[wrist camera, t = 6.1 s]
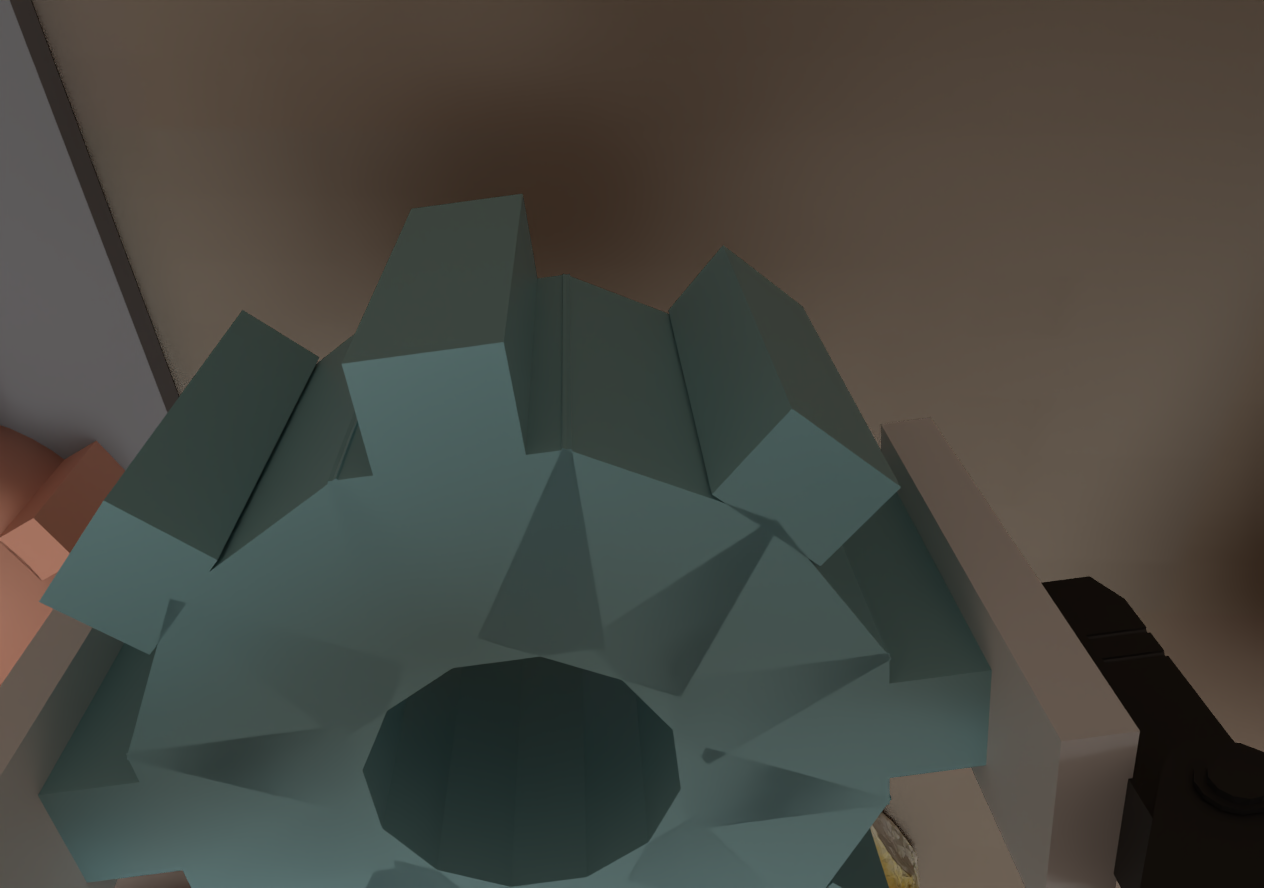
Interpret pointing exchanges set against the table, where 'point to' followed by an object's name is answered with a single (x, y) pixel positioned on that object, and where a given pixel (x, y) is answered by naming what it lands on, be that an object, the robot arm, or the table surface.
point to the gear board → (59, 336)
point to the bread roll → (895, 854)
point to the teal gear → (512, 599)
